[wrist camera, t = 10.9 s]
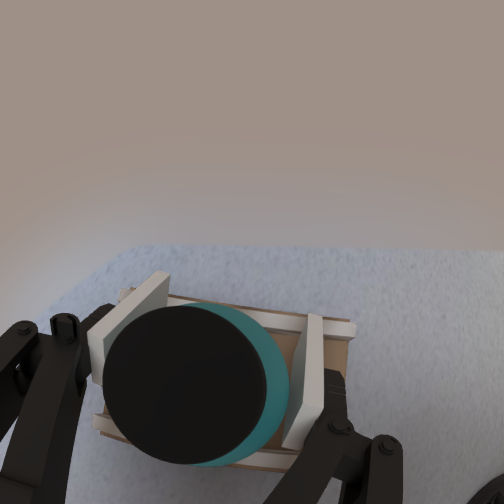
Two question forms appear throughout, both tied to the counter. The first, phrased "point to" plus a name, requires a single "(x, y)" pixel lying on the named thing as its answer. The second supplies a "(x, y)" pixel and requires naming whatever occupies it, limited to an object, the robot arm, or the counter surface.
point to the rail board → (286, 337)
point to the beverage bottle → (196, 384)
